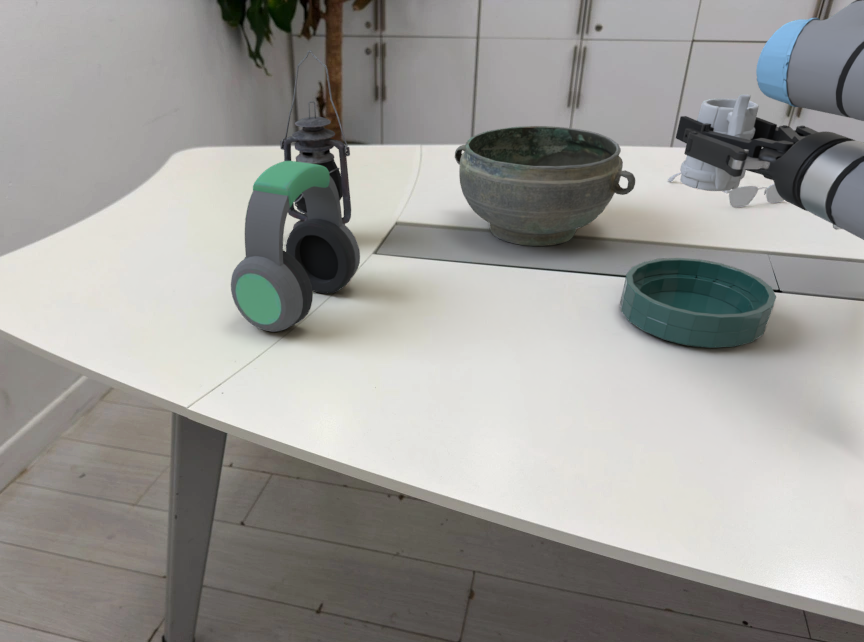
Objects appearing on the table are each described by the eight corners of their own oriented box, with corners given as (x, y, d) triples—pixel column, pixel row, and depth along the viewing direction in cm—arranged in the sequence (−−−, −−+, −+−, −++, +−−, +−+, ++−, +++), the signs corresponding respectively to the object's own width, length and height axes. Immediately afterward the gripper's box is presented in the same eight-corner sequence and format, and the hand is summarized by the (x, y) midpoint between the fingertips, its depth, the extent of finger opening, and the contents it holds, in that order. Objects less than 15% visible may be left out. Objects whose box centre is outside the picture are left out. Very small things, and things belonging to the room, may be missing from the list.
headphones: (296, 346, 87) (284, 193, 76) (229, 327, 91) (208, 180, 80) (366, 288, 100) (364, 151, 89) (304, 274, 105) (295, 143, 94)
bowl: (412, 233, 118) (414, 145, 110) (488, 194, 135) (495, 115, 126) (586, 279, 101) (605, 180, 92) (650, 228, 117) (670, 139, 109)
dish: (771, 308, 92) (783, 274, 89) (752, 367, 80) (765, 330, 77) (638, 280, 100) (645, 248, 97) (602, 330, 88) (609, 295, 85)
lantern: (273, 248, 114) (253, 53, 98) (303, 227, 122) (290, 44, 105) (338, 259, 110) (330, 57, 93) (365, 236, 118) (362, 46, 101)
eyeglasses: (722, 209, 124) (728, 188, 122) (663, 181, 138) (667, 161, 136) (794, 201, 126) (801, 180, 124) (728, 174, 141) (733, 154, 139)
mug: (735, 175, 91) (762, 79, 84) (754, 204, 81) (787, 98, 74) (674, 172, 92) (696, 78, 86) (685, 200, 83) (712, 96, 76)
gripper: (727, 219, 69) (629, 159, 88) (910, 208, 71) (774, 151, 90) (749, 145, 65) (641, 98, 84) (943, 134, 67) (793, 90, 86)
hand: (710, 125), depth 87 cm, fingers closed on mug, 7 cm apart
